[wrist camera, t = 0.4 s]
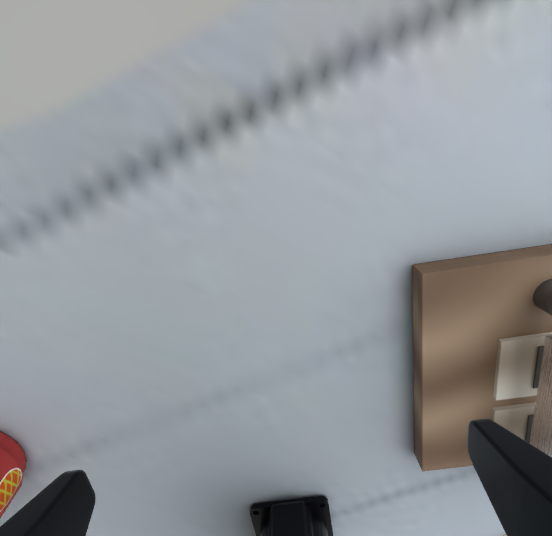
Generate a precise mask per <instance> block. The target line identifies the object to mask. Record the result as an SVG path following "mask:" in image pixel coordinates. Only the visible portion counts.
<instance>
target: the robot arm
mask: <svg viewBox="0 0 552 536" xmlns="http://www.w3.org/2000/svg"><path fill="white" fill-rule="evenodd" d="M467 448H468V453H469V457H470V459H471V461H472V464H473V466H474V468H475V470H476V472H477V474H478V476H479V478H480V480H481V482H482V485H483V487H484V489H485V491H486V493H487V495H488V497H489V499H490V501H491V503H492V506H493V508H494V510H495V512H496V514H497V516H498V518H499V520H500V522H501V524H502V526H503V528H504V530H505V532H506V534H507V536H552V457H551V456H549V455H547V454H546V453H544V452H543V451H541V450H539V449H538V448H536V447H534V446H533V445H531V444H530V443H528V442H526V441H525V440H523V439H522V438H520V437H518V436H517V435H515V434H514V433H512V432H510V431H509V430H507V429H506V428H504V427H502V426H501V425H499V424H498V423H496V422H494V421H493V420H490V419H477V420H472V421H470V422H469V426H468V445H467ZM94 505H95V492H94V490H93V488H92V486H91V484H90V481H89V479H88V477H87V475H86V473H85V472H84V471H83V470H74V471H67V472H64V473H63V474H61V475H60V476H59V477H58V478H56V479H55V480H54V481H53V482H52V483H51V484H49V485H48V486H47V487H46V488H45V489H44V490H42V491H41V492H40V493H39V494H38V495H37V496H36V497H34V498H33V499H32V500H31V501H30V502H29V503H27V504H26V505H25V506H24V507H23V508H22V509H20V510H19V511H18V512H17V513H16V514H15V515H13V516H12V517H11V518H10V519H9V520H8V521H6V522H5V523H4V524H3V525H2V526H1V527H0V536H85V535H86V532H87V529H88V525H89V522H90V519H91V516H92V512H93V509H94ZM250 515H251V518H252V522H253V526H254V529H255V533H256V536H333V532H332V525H331V518H330V511H329V504H328V499H327V498H326V497H324V496H318V497H310V498H301V499H293V500H284V501H276V502H267V503H259V504H253V505H252V506H251V507H250Z"/></svg>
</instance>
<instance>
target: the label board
mask: <svg viewBox="0 0 552 536" xmlns="http://www.w3.org/2000/svg"><path fill="white" fill-rule="evenodd" d="M412 284H413V366H414V449H415V456H416V458H417V460H418V462H419V465H420V467H421V469H422V471H430V470H438V469H446V468H455V467H463V466H472V465H473V464H472V461H471V459H470V457H469V453H468V448H467V445H468V426H469V422H470V421H472V420H477V419H490V420H493V421H494V422H496V423H498V424H499V425H501V426H502V427H504V428H506V429H507V430H509V431H510V432H512V433H514V434H515V435H517V436H518V437H520V438H522V439H523V440H525V441H526V442H528V443H530V437H531V430H532V424H533V417H534V410H535V404H536V397H537V390H538V384H539V377H540V371H541V364H542V357H543V351H544V344H545V337H546V336H549V335H552V244H550V245H543V246H536V247H529V248H522V249H516V250H509V251H502V252H495V253H488V254H482V255H475V256H468V257H461V258H454V259H448V260H441V261H434V262H427V263H421V264H414V265H412Z"/></svg>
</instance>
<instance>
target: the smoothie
mask: <svg viewBox="0 0 552 536" xmlns="http://www.w3.org/2000/svg"><path fill="white" fill-rule="evenodd" d="M26 461H27V460H26V457H25V453H24V451H23V450H22V448H21V447H20V446H19V444H18V443H17V442H16V441H14V440H13V439H12V438H11V437H9V436H8V435H6V434H4V433H2V432H0V518H1V516H2V515H3V513H4V512H5V510H6V508H7V507H8V505H9V504H10V502H11V501H12V499H13V498H14V496H15V495H16V493H17V492H18V490H19V489H20V487H21V485H22V479H23V475H22V473H23V472H24V470H25V467H26Z"/></svg>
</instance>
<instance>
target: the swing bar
mask: <svg viewBox="0 0 552 536" xmlns="http://www.w3.org/2000/svg"><path fill="white" fill-rule="evenodd" d="M530 444H531V445H533V446H534V447H536V448H538V449H539V450H541V451H543V452H544V453H546V454H547V455H549V456H551V457H552V335H549V336H546V337H545V344H544V351H543V357H542V364H541V371H540V377H539V384H538V390H537V397H536V404H535V410H534V417H533V424H532V430H531V437H530Z"/></svg>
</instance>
